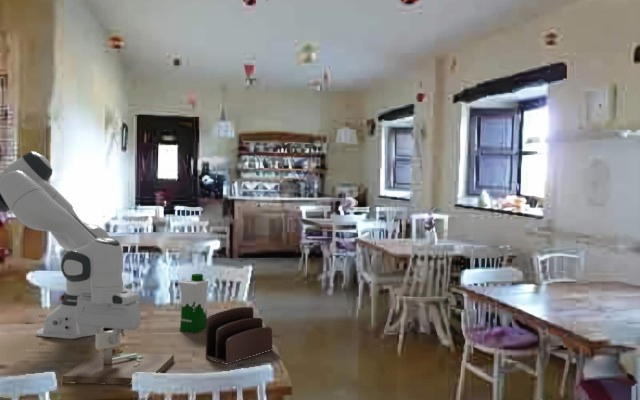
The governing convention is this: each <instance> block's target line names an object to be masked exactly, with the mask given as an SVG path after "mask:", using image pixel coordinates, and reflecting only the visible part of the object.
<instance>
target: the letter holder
mask: <svg viewBox="0 0 640 400" xmlns="http://www.w3.org/2000/svg"><path fill="white" fill-rule="evenodd" d="M271 349H273V350H274V347H273V328H272V327H270V326H269V327H268V326H263V318H262V317H254V308H253V307H252V306H243V307H235V308H229V309H226V310H222V311H220V312H216V313H215V314H214V313H213V314H212V315H209V316H207V320H206V330H205V359H206V358H208V359H207V360H209V359H212V360H216V361H219V362H224V363H230V362H233V361H236V360H239V359H243V358H246V357H249V356H253V355H256V354H259V353H262V352H265V351H268V350H271ZM212 360H211V361H212ZM216 361H215V362H216ZM219 362H218V363H219Z"/></svg>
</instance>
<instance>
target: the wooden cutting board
mask: <svg viewBox="0 0 640 400" xmlns="http://www.w3.org/2000/svg"><path fill="white" fill-rule="evenodd" d="M135 353H136V352H134V353H131V352H120V353H115V352H112V358H116V357H121V356H126V355H130V354H135ZM136 354H137V356H135V357H130V358H126V359H121V360H116V361H112V364H103V352H99V351H98V352H97V351H96V353H94V354H93V355H91V356H89V357H88V358H86V359H85V360H84V361H82V362H81V363H79V364H77V365H76V366H74V368H72V369H70V370H69V371H67V372H66V373H65V374H63V375H62V383H63V382H75V383H74V384H76V383H105V384H104V385H107V384H130V383H131V380H132V374H133V373H135V372H156V373H158V372H163V371H164V370H165V369H166V368H167V367H168V368H169V367H170V366H171V365H172V364H173V362H175V356H174V355H175V354H163V353H136ZM168 368H167V369H168ZM167 369H166V370H167ZM166 370H165V371H166ZM165 371H164V372H165ZM164 372H163V373H164Z"/></svg>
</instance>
